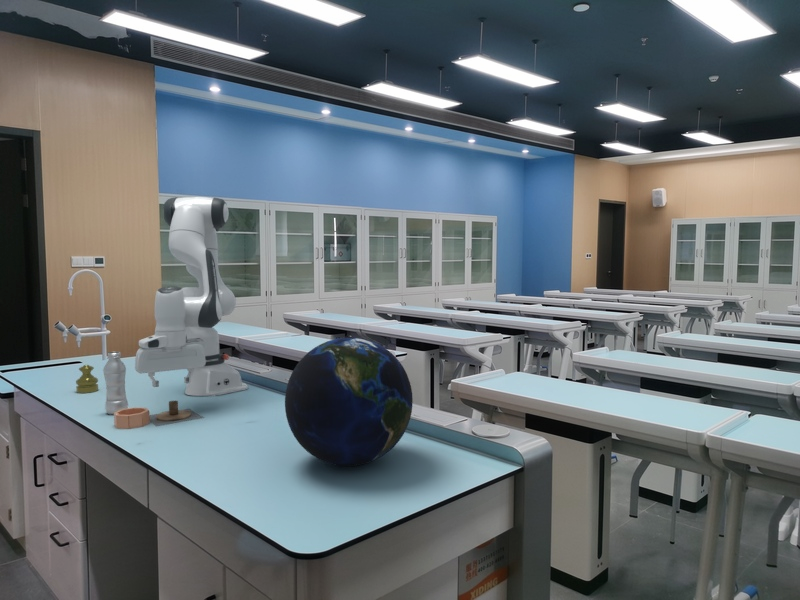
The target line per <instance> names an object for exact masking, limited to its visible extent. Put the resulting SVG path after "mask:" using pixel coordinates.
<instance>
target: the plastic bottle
mask: <svg viewBox="0 0 800 600" xmlns="http://www.w3.org/2000/svg"><path fill="white" fill-rule="evenodd" d="M121 358H122V355H121V351H109V352H108V353H107V359H108V360H107V362H106V363H105V365H104V366H103V369H102V371H103V375H104V380H105V387H106V388H105V391H106V396H105V405H104V409H105V412H106V413H107V415H110V416H114V412H117V411H119V410H122V409H128V408H129V402H128V401H129V400H128V398H127V394H126V385H125V384H126V373H127V367H126V365H125V363H124V361H122V359H121Z"/></svg>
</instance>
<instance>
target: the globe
mask: <svg viewBox="0 0 800 600" xmlns="http://www.w3.org/2000/svg"><path fill="white" fill-rule="evenodd" d="M412 390H413V389H412V386H411V382H410V379H409V375H408V373H407V372H406V370H405V368H404V366H403V365H402V362H400V360H398V358H397V357H396V356H395V355H394V354H393V353H392V352H391V351H390V350H388V349H387V348H385V347H384V346H383V345H381V344H378V343H377V342H374V341H372V340H369V339H366V338H361V337H353V336H351V337H339V338H334V339H331V340H328V341H325V342H323V343H321V344H318V345H317V346H314V348H312V349H311V350H309V351H308V352H307V353H306V354H305V355H304V356H303V357H302V358H301V359H300V360H299V361H298V363H297V364H296V366H295V367H294V369H293V370H292V372H291V375H290V376H289V378H288V382H287V384H286V390H285V394H284V395H285V396H284V410H285V417H286V420H287V423H288V426H289V429H290V431H291V433H292V435H293V436H294V438H295V440H296V441H297V443H299V445H300V446H301V447H302V448H303V449H304V450H305V451H306V452H307V453H309V454H310V455H312V456H313V457H315V458H316V459H317V460H320V461H322V462H324V463H327V464H330V465H335V466H339V467H340V466H341V467H354V466H362V465H365V464H368V463H372V462H373V461H376V460H378V459H380V458H382V457H383V456H384V455H386V454H388V453H389V452H390V451H391V450H393V448H394V447H395V446H396V445H397V444H398V443H399V442H400V440H401V439H402V437H403V436H404V435H405V433H406V431H407V428H408V426H409V423H410V421H411V417H412V413H413V391H412Z"/></svg>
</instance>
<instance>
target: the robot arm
mask: <svg viewBox="0 0 800 600" xmlns="http://www.w3.org/2000/svg"><path fill="white" fill-rule="evenodd" d="M229 212H230V211H229V207H228V205H227V202H226V201H225V200H224V199H223V198H219V197H206V196H186V197H185V196H184V197H170V198H167V200H166V201H164V205H163V209H162V215H163V219H164V222H165V224H167V225H168V226H170V227H169V232H168V233H169V234H168V249H169V252H170V254H171V255H172V256H173V257H174V258H175V259H176V260H178V261H179V262H181V263H183V264H185V269H186V271H187V273H189V275H191V276H192V277H194V278H195V279H196V281H197V283H198V286H186V287H180V286H174V285H173V286H172V285H171V286H163V287H160V288H159V289H157V290H156V293H155V299H154V320H155V329H154V334H153V335H150V336H147V337H145V338H142V339H139V340H138V346H139V347H140V348H138V349H137V351H136V353H135V360H134V369H135V371H136V372H137V373H138V374H147V376H148V377H149V379H150V380H151V381H152V382H151V383H152V384H151V386H152V387H153V388H157V387H158V388H159V387H160V380H157V379H156V378H155V377H154V376H155V375H156V373H158V372H159V373H161V372H170V371H178V370H179V371H180V370H187V375H186V376H184V378H183V379H184V380H183V382H184V384H186V387H185V391H184V394H185V395H186V396H187V395H188V396H192V397H193V396H200V397H202V396H203V397H204V396H205V397H212V396H215V397H216V396H220V395H221V396H222V395H226V394H230V393H235V392H241V391H244V390H248V389H249V386H248V385H249V384H247V383H245V382H243V381H242V377H241V373H240V372H239V371H238V370H237V369H235V368H234V367H232V366H231V365H230V364H228V363H227V362H225V361H228V360H229V359H230V357H229V354H226V353H224V354H223V353H222V352H220V334H219V333H218V330H217V329H215V328H214V327H215V326H216V325H218V324H219V323H220V322H221V320H222V317H224V316H225V317H226V316H228V315H231V314H232V313H233V312H234V310H235V308H236V303H237V302H236V301H237V300H236V297H235V294H234V293H233V291H232V290H231V289H230V288H228V287H227V285H226V284H225V283H224V281H223V280H222V277H221V274H220V270H219V261H218V260H219V256H218V255H219V245H218V244H219V242H218V233H217V232H219V231H220V229H222V228H224V227H225V226H226V224H227V223H228V220H229V215H230V213H229Z"/></svg>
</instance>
